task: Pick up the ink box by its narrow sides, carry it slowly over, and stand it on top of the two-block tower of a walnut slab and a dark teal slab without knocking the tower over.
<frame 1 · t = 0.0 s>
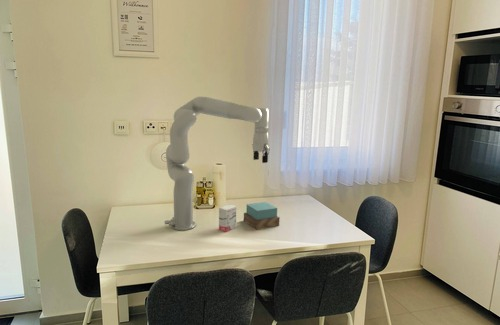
hand: (260, 161, 207), 31 cm above the table, tool pointing down, fingers open, 9 cm apart
walnut base block: (261, 223, 199), on the table, touching teal top block
teal top block: (261, 215, 198), point 5 cm above the table, touching walnut base block
ink box: (227, 229, 190), on the table
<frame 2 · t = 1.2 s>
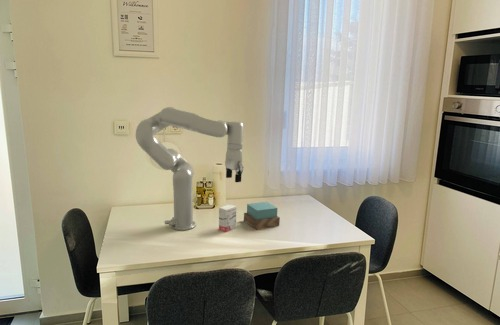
hand: (233, 179, 189), 25 cm above the table, tool pointing down, fingers open, 9 cm apart
nothing on the table moved.
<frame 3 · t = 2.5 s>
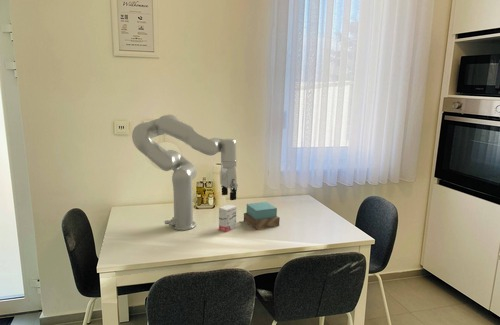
hand: (228, 197, 186), 17 cm above the table, tool pointing down, fingers open, 9 cm apart
nothing on the table moved.
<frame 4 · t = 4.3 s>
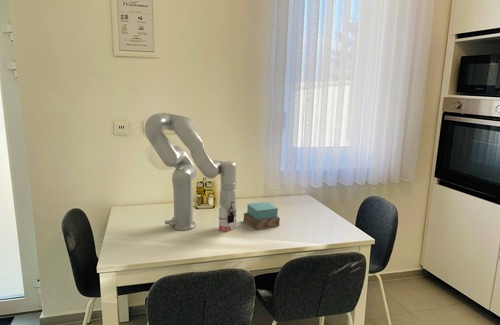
hand: (227, 220, 189), 5 cm above the table, tool pointing down, fingers closed on ink box, 6 cm apart
walnut base block: (261, 224, 199), on the table
teal top block: (262, 215, 198), point 5 cm above the table
ink box: (227, 229, 190), on the table, touching gripper
when the fingers open (16 cm above the table, at t = 14.3 s): ink box drops 2 cm, resting on teal top block.
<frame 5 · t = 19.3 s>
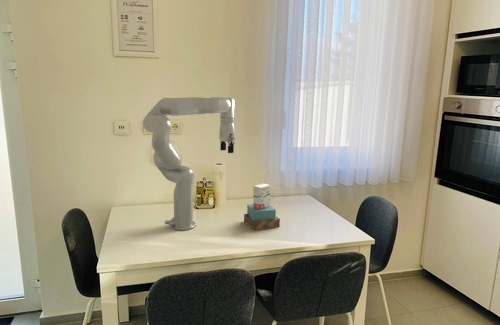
hand: (226, 151, 205), 36 cm above the table, tool pointing down, fingers open, 9 cm apart
walnut base block: (261, 225, 198), on the table, touching teal top block
teal top block: (261, 216, 197), point 4 cm above the table, touching ink box, walnut base block
ink box: (261, 207, 196), point 9 cm above the table, touching teal top block
at the end: ink box inside the target area on the teal top block (0.2 cm from its centre), point 4.8 cm above the teal top block's base; ink box tilted 1°; teal top block point 4.3 cm above the table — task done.
